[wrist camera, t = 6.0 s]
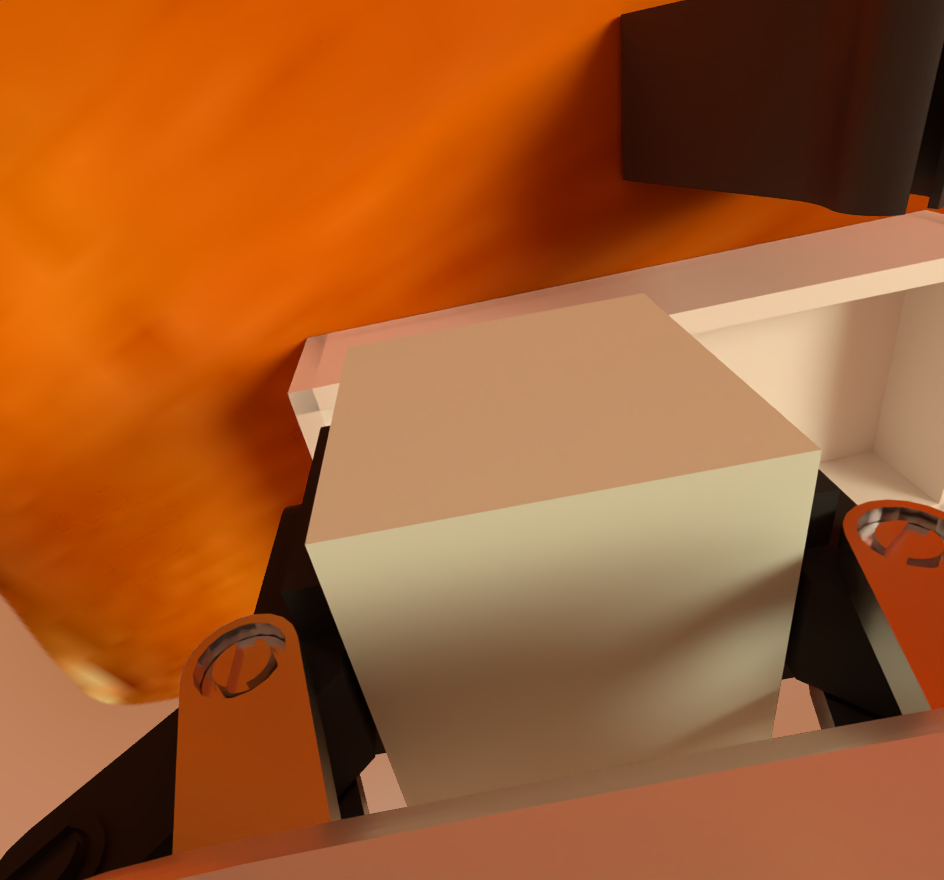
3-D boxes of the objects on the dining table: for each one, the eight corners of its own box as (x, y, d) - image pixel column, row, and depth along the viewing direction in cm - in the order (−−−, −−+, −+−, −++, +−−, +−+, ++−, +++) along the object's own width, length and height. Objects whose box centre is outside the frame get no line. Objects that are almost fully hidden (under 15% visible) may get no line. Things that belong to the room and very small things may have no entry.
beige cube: (643, 293, 10) (822, 449, 6) (645, 525, 13) (768, 752, 8) (347, 347, 10) (304, 545, 6) (409, 568, 13) (412, 818, 8)
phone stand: (844, -22, 24) (1185, -101, 13) (818, 146, 27) (1080, 186, 16) (618, 13, 23) (789, -39, 13) (619, 178, 27) (758, 240, 16)
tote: (925, 210, 29) (1040, 237, 24) (874, 453, 36) (953, 515, 31) (307, 337, 29) (287, 393, 24) (381, 555, 36) (378, 633, 31)
